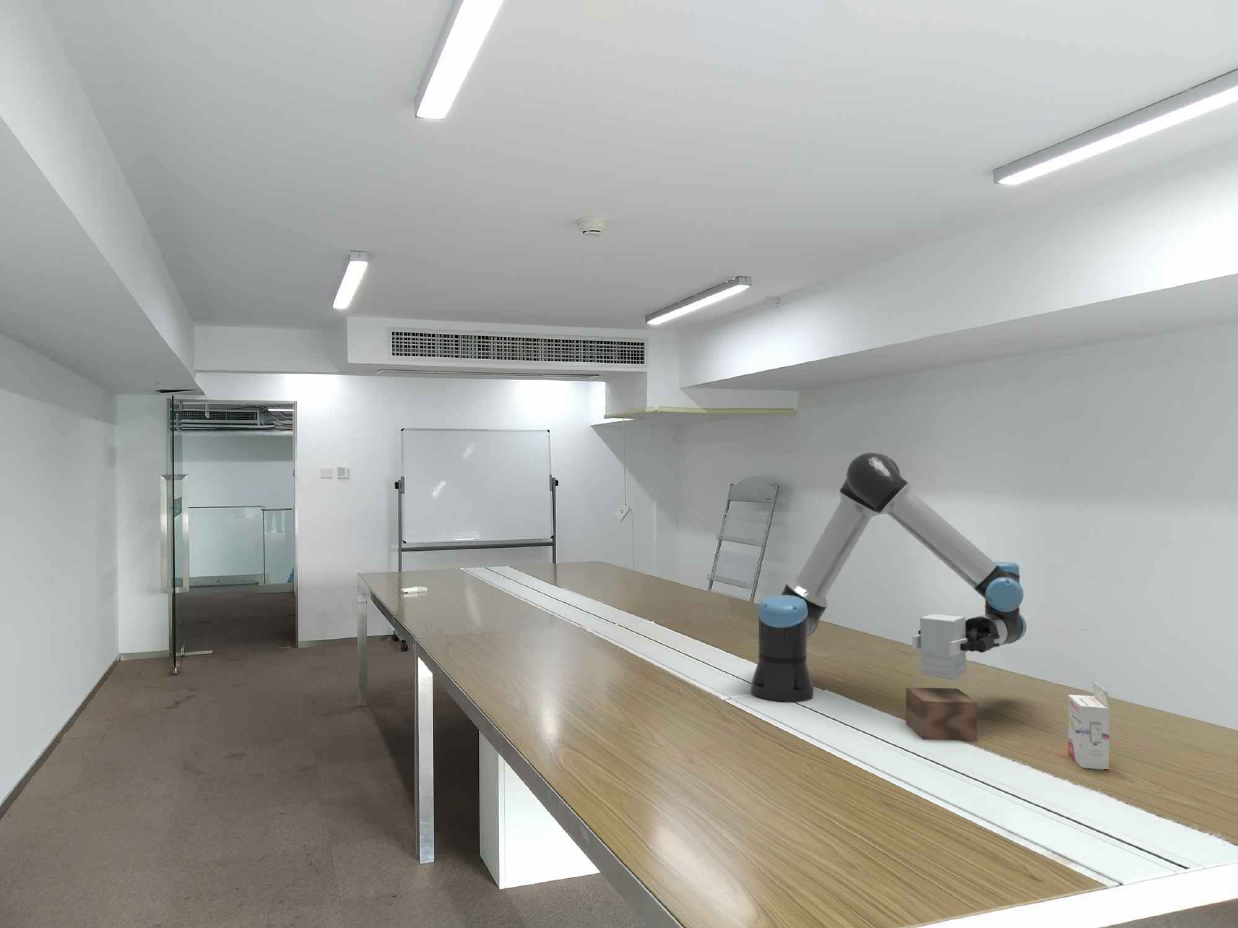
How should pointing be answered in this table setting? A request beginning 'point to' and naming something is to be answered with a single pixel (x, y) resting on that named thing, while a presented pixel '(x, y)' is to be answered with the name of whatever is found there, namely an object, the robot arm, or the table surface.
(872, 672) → the table surface
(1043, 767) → the table surface
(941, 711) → the walnut block
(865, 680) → the table surface
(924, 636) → the supplement box
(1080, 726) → the ink cartridge box
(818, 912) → the table surface
